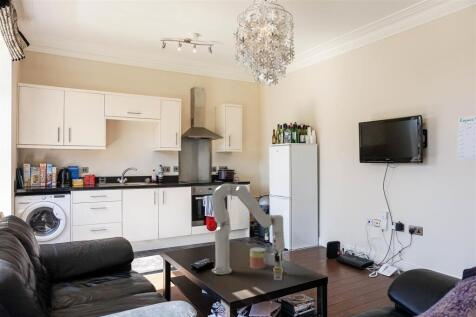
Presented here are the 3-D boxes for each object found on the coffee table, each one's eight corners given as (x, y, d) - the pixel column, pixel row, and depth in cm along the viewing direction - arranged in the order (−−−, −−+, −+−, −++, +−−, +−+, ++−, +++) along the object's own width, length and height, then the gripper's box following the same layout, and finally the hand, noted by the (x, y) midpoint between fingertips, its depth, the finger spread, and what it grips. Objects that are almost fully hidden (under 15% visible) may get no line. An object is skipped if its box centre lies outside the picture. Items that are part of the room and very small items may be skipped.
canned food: (264, 269, 226) (264, 251, 226) (248, 268, 228) (248, 251, 228) (266, 264, 237) (266, 247, 237) (251, 263, 239) (251, 247, 239)
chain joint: (283, 280, 203) (283, 276, 203) (272, 280, 204) (272, 276, 204) (283, 267, 230) (282, 263, 230) (273, 266, 231) (273, 263, 231)
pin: (280, 265, 214) (279, 250, 215) (274, 264, 217) (274, 249, 217) (282, 263, 218) (282, 248, 218) (277, 262, 220) (277, 248, 220)
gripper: (277, 236, 209) (278, 265, 208) (288, 232, 222) (288, 258, 222) (267, 235, 213) (268, 263, 212) (278, 231, 226) (278, 257, 226)
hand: (278, 260), depth 217 cm, fingers closed on pin, 3 cm apart
